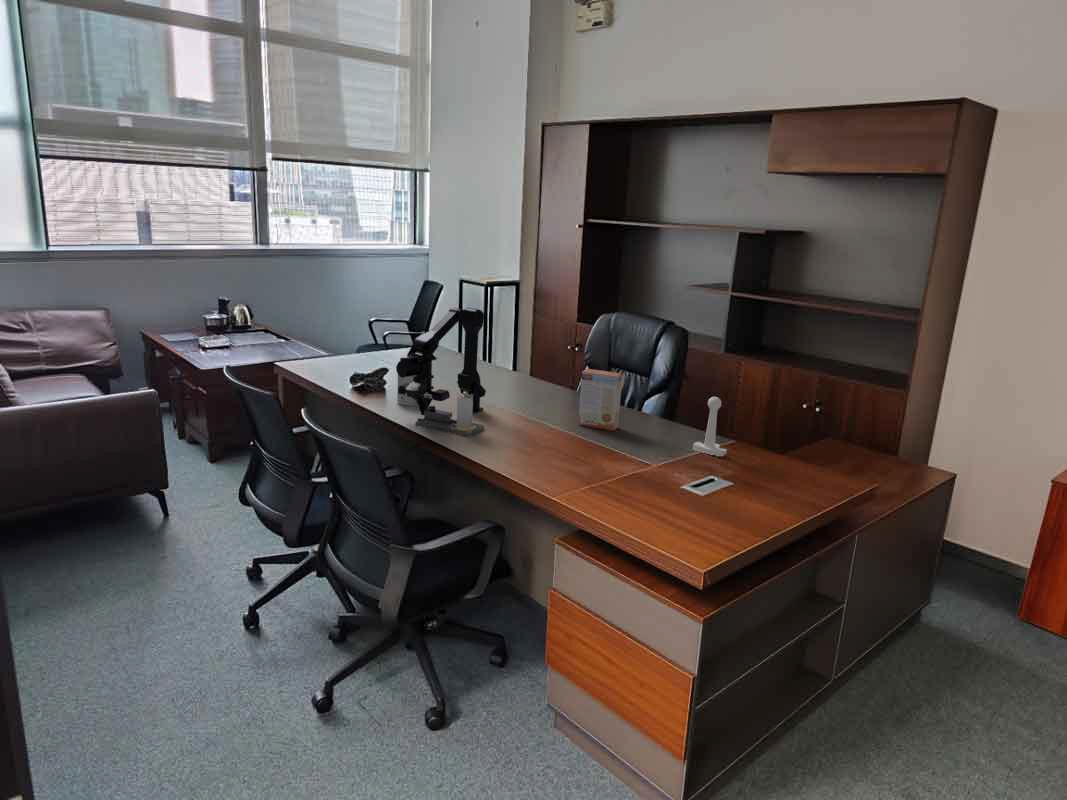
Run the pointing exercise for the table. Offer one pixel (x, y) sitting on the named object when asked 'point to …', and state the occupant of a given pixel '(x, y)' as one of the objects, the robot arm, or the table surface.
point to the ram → (437, 415)
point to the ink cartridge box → (404, 398)
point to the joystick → (711, 431)
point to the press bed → (449, 427)
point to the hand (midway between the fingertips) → (423, 414)
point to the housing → (464, 410)
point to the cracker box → (600, 399)
